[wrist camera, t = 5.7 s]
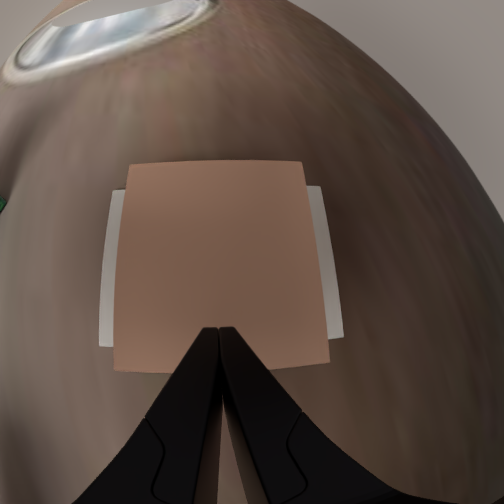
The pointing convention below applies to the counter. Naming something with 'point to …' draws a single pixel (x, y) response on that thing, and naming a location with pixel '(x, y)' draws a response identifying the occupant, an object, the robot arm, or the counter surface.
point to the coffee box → (2, 203)
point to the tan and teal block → (217, 263)
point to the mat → (322, 249)
